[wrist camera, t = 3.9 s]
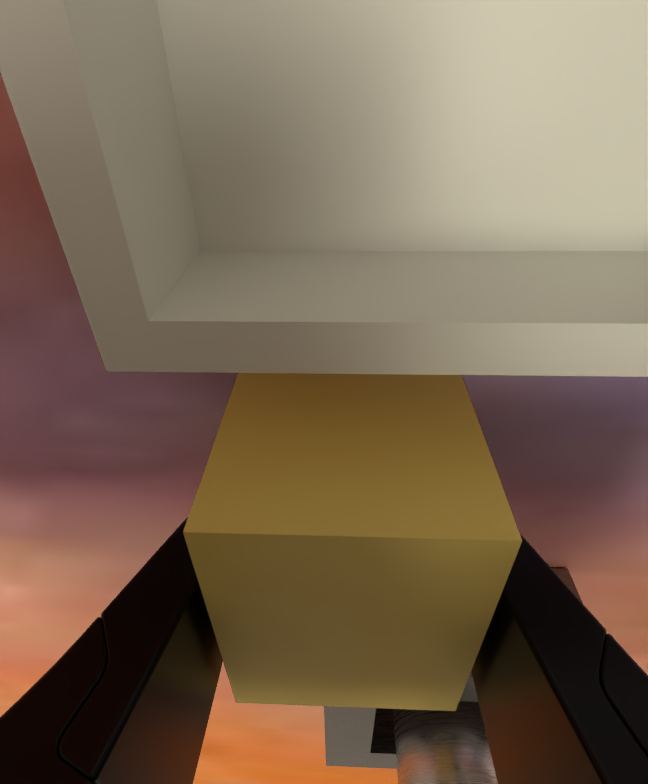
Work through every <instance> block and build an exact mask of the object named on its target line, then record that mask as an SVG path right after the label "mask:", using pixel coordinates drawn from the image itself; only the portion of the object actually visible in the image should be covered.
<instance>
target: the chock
mask: <svg viewBox="0 0 648 784" xmlns="http://www.w3.org/2000/svg"><path fill="white" fill-rule="evenodd" d="M183 534H184V537H185V541H186V544H187V547H188V550H189V553H190V557H191V560H192V563H193V566H194V569H195V573H196V576H197V579H198V582H199V585H200V589H201V592H202V595H203V598H204V601H205V605H206V608H207V611H208V614H209V617H210V621H211V624H212V627H213V630H214V633H215V637H216V640H217V643H218V646H219V649H220V653H221V656H222V659H223V662H224V665H225V669H226V672H227V675H228V678H229V681H230V685H231V688H232V691H233V694H234V697H235V701H236V702H237V703H261V704H286V705H311V706H336V707H361V708H385V709H410V710H435V711H456V709H457V706H458V703H459V701H460V698H461V696H462V693H463V691H464V688H465V686H466V683H467V681H468V678H469V675H470V673H471V670H472V668H473V665H474V663H475V660H476V658H477V655H478V652H479V650H480V647H481V645H482V642H483V640H484V637H485V635H486V632H487V630H488V627H489V624H490V622H491V619H492V617H493V614H494V612H495V609H496V607H497V604H498V601H499V599H500V596H501V594H502V591H503V589H504V586H505V584H506V581H507V579H508V576H509V573H510V571H511V568H512V566H513V563H514V561H515V558H516V556H517V553H518V550H519V548H520V545H521V543H522V538H521V536H520V533H519V530H518V528H517V525H516V522H515V519H514V517H513V514H512V511H511V508H510V506H509V503H508V500H507V497H506V495H505V492H504V489H503V486H502V484H501V481H500V478H499V476H498V473H497V470H496V467H495V465H494V462H493V459H492V456H491V454H490V451H489V448H488V445H487V443H486V440H485V437H484V435H483V432H482V429H481V426H480V424H479V421H478V418H477V415H476V413H475V410H474V407H473V404H472V402H471V399H470V396H469V394H468V391H467V388H466V385H465V383H464V380H463V377H462V375H411V374H307V373H238V375H237V378H236V381H235V383H234V386H233V389H232V392H231V395H230V398H229V401H228V404H227V407H226V409H225V412H224V415H223V418H222V421H221V424H220V427H219V430H218V432H217V435H216V438H215V441H214V444H213V447H212V450H211V453H210V455H209V458H208V461H207V464H206V467H205V470H204V473H203V476H202V479H201V481H200V484H199V487H198V490H197V493H196V496H195V499H194V502H193V504H192V507H191V510H190V513H189V516H188V519H187V522H186V525H185V527H184V530H183Z"/></svg>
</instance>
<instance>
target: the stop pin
mask: <svg viewBox="0 0 648 784" xmlns="http://www.w3.org/2000/svg"><path fill="white" fill-rule="evenodd" d="M393 718H394V732H395V746H396V759H397V773H398V784H498V782H497V778H496V774H495V770H494V765H493V761H492V757H491V753H490V748H489V744H488V740H487V736H486V732H485V727H484V723H483V719H482V715H481V710H480V706H479V702H470V701H459V703H458V706H457V709H456V711H435V710H410V709H393Z"/></svg>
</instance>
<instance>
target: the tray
mask: <svg viewBox="0 0 648 784" xmlns="http://www.w3.org/2000/svg"><path fill="white" fill-rule="evenodd" d="M0 73H1V76H2V78H3V81H4V84H5V87H6V90H7V93H8V95H9V98H10V101H11V104H12V107H13V109H14V112H15V115H16V118H17V121H18V124H19V126H20V129H21V132H22V135H23V138H24V141H25V143H26V146H27V149H28V152H29V155H30V157H31V160H32V163H33V166H34V169H35V172H36V174H37V177H38V180H39V183H40V186H41V189H42V191H43V194H44V197H45V200H46V203H47V205H48V208H49V211H50V214H51V217H52V220H53V222H54V225H55V228H56V231H57V234H58V237H59V239H60V242H61V245H62V248H63V251H64V253H65V256H66V259H67V262H68V265H69V268H70V270H71V273H72V276H73V279H74V282H75V285H76V287H77V290H78V293H79V296H80V299H81V302H82V304H83V307H84V310H85V313H86V316H87V318H88V321H89V324H90V327H91V330H92V333H93V335H94V338H95V341H96V344H97V347H98V350H99V352H100V355H101V358H102V361H103V364H104V366H105V369H106V372H203V373H307V374H411V375H515V376H619V377H648V0H0Z"/></svg>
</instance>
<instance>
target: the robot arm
mask: <svg viewBox="0 0 648 784" xmlns="http://www.w3.org/2000/svg"><path fill="white" fill-rule="evenodd" d="M187 519H188V517H187V518H186V519H185V520H184V522H183V523H182V524H181V525H180V526H179V527H178V528H177V529H176V531H175V532H174V533H173V534H172V535H171V536H170V537H169V538H168V539H167V541H166V542H165V543H164V544H163V545H162V546H161V547H160V548H159V550H158V551H157V552H156V553H155V554H154V555H153V556H152V557H151V559H150V560H149V561H148V562H147V563H146V564H145V565H144V566H143V567H142V569H141V570H140V571H139V572H138V573H137V574H136V575H135V576H134V578H133V579H132V580H131V581H130V582H129V583H128V584H127V585H126V587H125V588H124V589H123V590H122V591H121V592H120V593H119V594H118V595H117V597H116V598H115V599H114V600H113V601H112V602H111V603H110V604H109V606H108V607H107V608H106V609H105V610H104V611H103V612H102V614H101V617H102V618H101V617H98V618H97V619H96V620H95V621H94V622H93V623H92V624H91V625H90V627H89V628H88V629H87V630H86V631H85V632H84V633H83V634H82V636H81V637H80V638H79V639H78V640H77V641H76V642H75V643H74V644H73V645H72V646H71V647H70V648H69V649H68V651H67V652H66V653H65V654H64V655H63V656H62V657H61V658H60V659H59V660H58V661H57V662H56V663H55V665H53V666H52V667H51V668H50V669H49V670H48V671H47V672H46V673H45V674H44V675H43V676H42V677H41V678H40V679H39V680H38V681H37V682H36V683H35V684H34V685H33V686H32V687H31V688H30V689H29V690H28V691H27V692H26V693H25V694H24V695H23V696H22V697H21V698H20V699H19V700H18V701H17V702H16V703H15V704H14V705H13V706H12V707H11V708H10V709H9V710H8V711H6V712H5V713H4V714H3V715H2V716H1V717H0V784H193V780H194V776H195V772H196V768H197V764H198V760H199V756H200V752H201V748H202V744H203V739H204V735H205V731H206V727H207V723H208V719H209V715H210V711H211V707H212V703H213V699H214V695H215V691H216V687H217V683H218V679H219V675H220V670H221V666H222V662H223V659H222V656H221V653H220V649H219V646H218V643H217V640H216V637H215V633H214V630H213V627H212V624H211V621H210V617H209V614H208V611H207V608H206V605H205V601H204V598H203V595H202V592H201V589H200V585H199V582H198V579H197V576H196V573H195V569H194V566H193V563H192V560H191V557H190V553H189V550H188V547H187V544H186V541H185V537H184V534H183V530H184V527H185V525H186V522H187ZM520 536H521V538H522V543H521V545H520V548H519V550H518V553H517V556H516V558H515V561H514V563H513V566H512V568H511V571H510V573H509V576H508V579H507V581H506V584H505V586H504V589H503V591H502V594H501V596H500V599H499V601H498V604H497V607H496V609H495V612H494V614H493V617H492V619H491V622H490V624H489V627H488V630H487V632H486V635H485V637H484V640H483V642H482V645H481V647H480V650H479V652H478V655H477V658H476V660H475V663H474V665H473V668H472V670H471V672H472V677H473V681H474V685H475V689H476V693H477V698H478V702H479V706H480V710H481V715H482V719H483V723H484V727H485V732H486V736H487V740H488V744H489V748H490V753H491V757H492V761H493V765H494V770H495V774H496V778H497V782H498V784H648V675H647V674H646V673H645V672H644V671H643V670H642V669H641V668H640V667H639V665H638V664H637V663H636V662H635V661H634V660H633V659H632V658H631V657H630V656H629V655H628V654H627V652H626V651H625V650H624V649H623V648H622V647H621V646H620V645H619V644H618V642H617V641H616V640H615V639H614V638H613V637H612V636H611V635H610V634H606V629H605V628H604V627H603V626H602V625H601V624H600V623H599V621H598V620H597V619H596V618H595V617H594V616H593V615H592V614H591V612H590V611H589V610H588V609H587V608H586V607H585V606H584V605H583V604H582V602H581V601H580V600H579V599H578V598H577V597H576V596H575V595H574V593H573V592H572V591H571V590H570V589H569V588H568V587H567V586H566V584H565V583H564V582H563V581H562V580H561V579H560V578H559V577H558V576H557V574H556V573H555V572H554V571H553V570H552V569H551V568H550V567H549V565H548V564H547V563H546V562H545V561H544V560H543V559H542V558H541V557H540V555H539V554H538V553H537V552H536V551H535V550H534V549H533V548H532V546H531V545H530V544H529V543H528V542H527V541H526V540H525V539H524V537H523V536H522V535H521V534H520Z"/></svg>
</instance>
